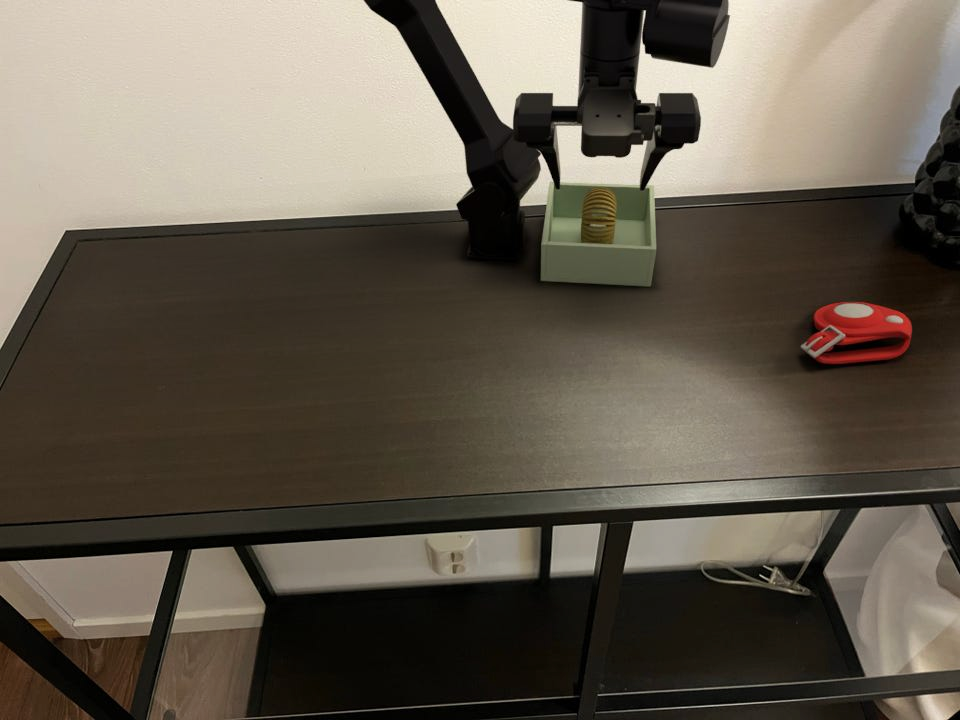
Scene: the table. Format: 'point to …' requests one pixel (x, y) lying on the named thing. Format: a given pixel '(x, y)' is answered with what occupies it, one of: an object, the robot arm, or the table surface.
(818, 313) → the tracker holder
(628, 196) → the bin
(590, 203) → the sculpture
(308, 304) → the table surface
